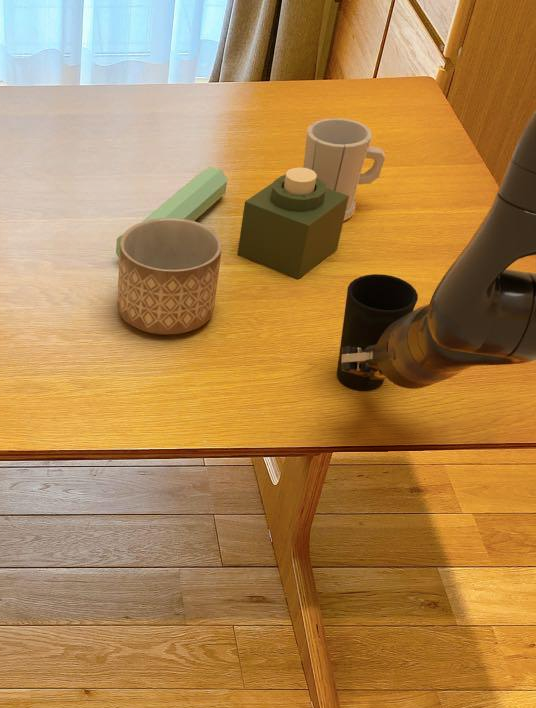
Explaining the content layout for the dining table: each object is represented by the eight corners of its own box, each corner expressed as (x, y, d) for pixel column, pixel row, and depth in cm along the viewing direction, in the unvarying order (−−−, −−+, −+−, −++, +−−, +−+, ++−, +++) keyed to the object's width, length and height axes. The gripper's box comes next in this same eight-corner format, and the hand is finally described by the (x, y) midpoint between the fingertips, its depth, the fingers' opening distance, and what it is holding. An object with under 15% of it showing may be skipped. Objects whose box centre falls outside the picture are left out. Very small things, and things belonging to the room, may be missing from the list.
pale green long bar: (210, 152, 152) (124, 222, 139) (241, 175, 152) (158, 248, 138) (193, 182, 157) (108, 254, 144) (223, 205, 157) (141, 279, 143)
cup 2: (383, 403, 120) (408, 318, 112) (319, 385, 123) (339, 301, 115) (399, 367, 125) (425, 283, 116) (338, 351, 128) (358, 267, 119)
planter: (138, 278, 141) (142, 209, 133) (226, 299, 137) (235, 229, 129) (101, 327, 134) (104, 257, 126) (193, 351, 129) (201, 279, 122)
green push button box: (337, 249, 144) (352, 183, 136) (298, 279, 139) (311, 212, 132) (276, 226, 149) (287, 161, 141) (237, 254, 144) (246, 188, 137)
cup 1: (331, 186, 156) (347, 108, 147) (376, 210, 151) (395, 131, 142) (280, 207, 152) (293, 129, 144) (324, 232, 147) (341, 153, 138)
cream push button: (319, 187, 137) (322, 173, 135) (303, 199, 135) (306, 184, 133) (294, 178, 139) (296, 164, 137) (277, 190, 137) (280, 175, 135)
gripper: (498, 307, 100) (434, 338, 117) (361, 307, 101) (318, 338, 118) (496, 384, 100) (433, 403, 118) (359, 383, 101) (316, 402, 119)
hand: (375, 370), depth 118 cm, fingers closed
